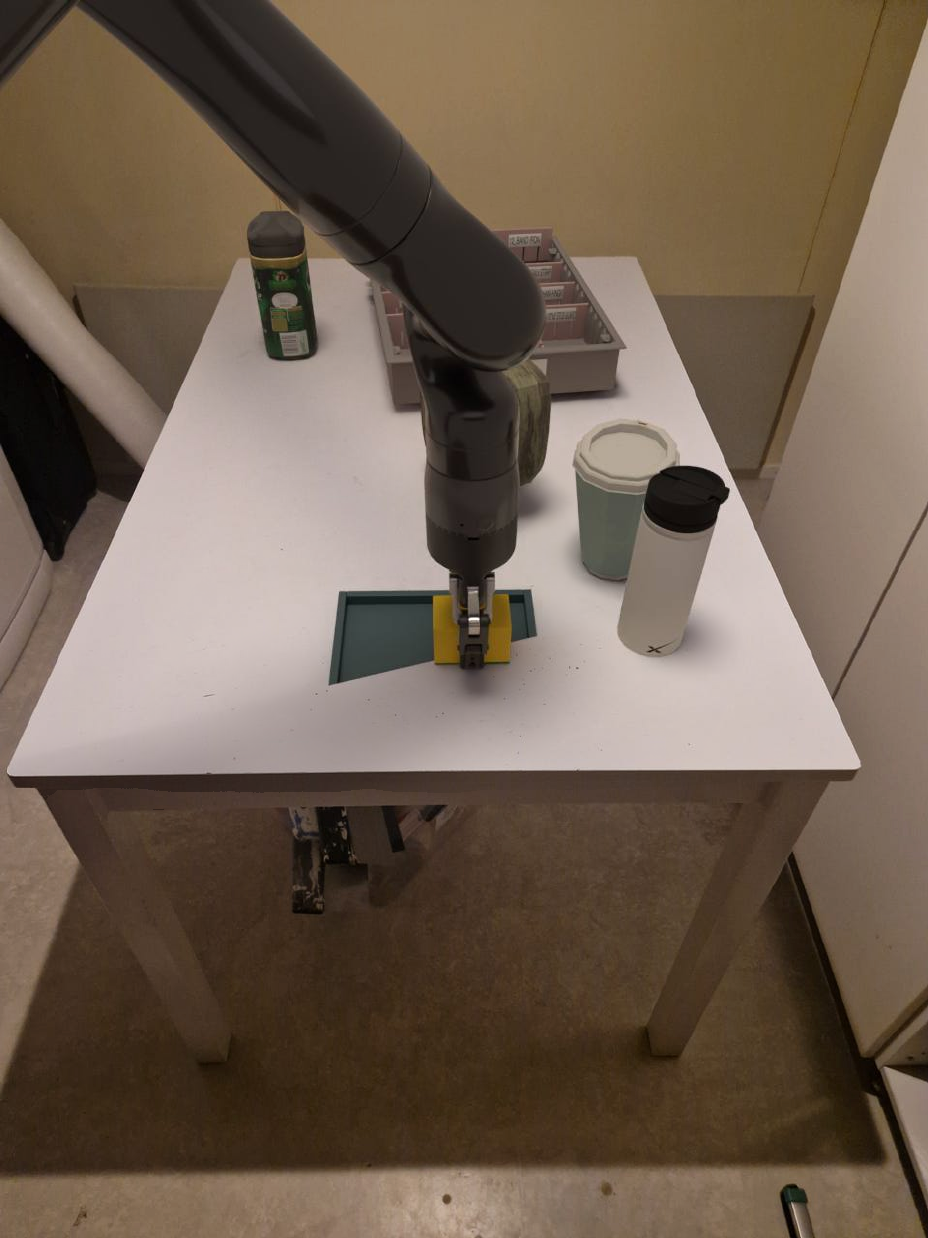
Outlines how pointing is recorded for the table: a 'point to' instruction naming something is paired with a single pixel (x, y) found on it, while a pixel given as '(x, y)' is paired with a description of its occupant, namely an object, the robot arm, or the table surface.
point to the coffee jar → (282, 284)
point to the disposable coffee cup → (616, 489)
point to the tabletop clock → (526, 417)
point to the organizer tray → (573, 335)
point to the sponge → (448, 631)
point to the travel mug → (669, 557)
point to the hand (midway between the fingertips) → (470, 646)
